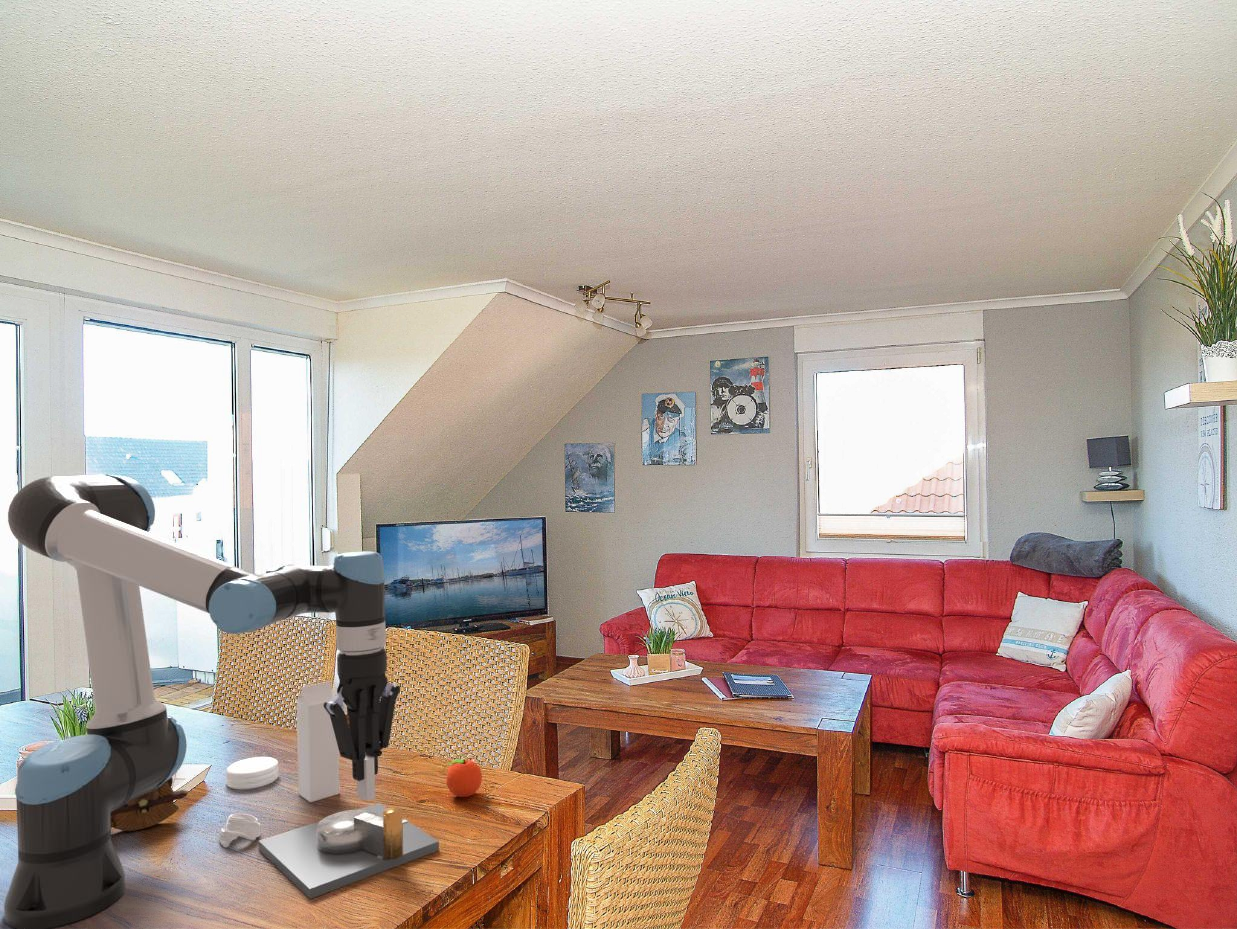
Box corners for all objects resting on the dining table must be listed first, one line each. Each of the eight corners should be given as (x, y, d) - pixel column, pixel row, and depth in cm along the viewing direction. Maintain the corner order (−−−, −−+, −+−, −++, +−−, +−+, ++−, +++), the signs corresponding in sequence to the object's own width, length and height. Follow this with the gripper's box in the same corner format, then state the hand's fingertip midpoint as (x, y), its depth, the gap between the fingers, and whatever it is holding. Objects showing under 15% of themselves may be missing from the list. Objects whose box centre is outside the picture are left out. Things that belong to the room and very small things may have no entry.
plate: (309, 898, 123) (309, 887, 123) (258, 849, 139) (258, 839, 139) (439, 850, 138) (438, 840, 138) (379, 810, 154) (379, 801, 154)
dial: (304, 844, 137) (303, 801, 137) (352, 822, 145) (351, 781, 145) (375, 871, 128) (374, 824, 128) (422, 845, 136) (421, 801, 136)
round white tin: (260, 791, 165) (260, 774, 165) (215, 789, 166) (215, 772, 166) (288, 773, 174) (287, 756, 174) (245, 771, 176) (245, 754, 176)
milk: (339, 794, 162) (338, 683, 162) (309, 803, 158) (308, 689, 158) (326, 785, 167) (325, 677, 167) (297, 793, 163) (296, 683, 163)
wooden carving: (84, 846, 142) (83, 788, 142) (84, 836, 145) (83, 780, 145) (190, 821, 151) (189, 767, 151) (187, 813, 155) (187, 760, 155)
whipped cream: (214, 842, 145) (211, 815, 145) (254, 827, 149) (251, 800, 149) (226, 855, 138) (222, 826, 138) (267, 839, 143) (264, 811, 143)
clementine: (435, 801, 158) (434, 764, 158) (450, 787, 165) (450, 751, 165) (473, 804, 156) (473, 767, 156) (487, 790, 163) (487, 754, 163)
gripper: (339, 661, 122) (344, 818, 122) (410, 644, 133) (414, 789, 133) (311, 655, 127) (315, 806, 127) (381, 639, 137) (385, 779, 137)
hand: (366, 797), depth 130 cm, fingers closed
